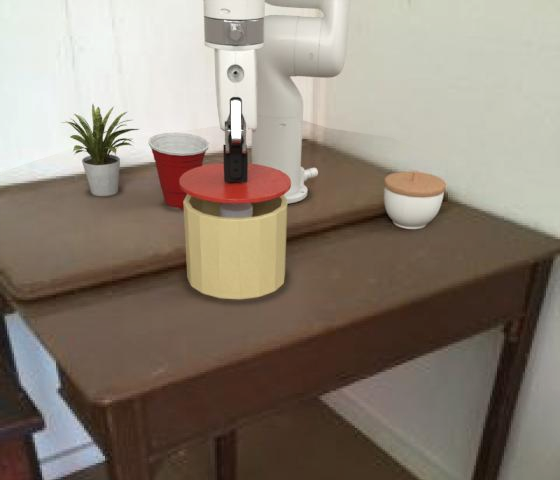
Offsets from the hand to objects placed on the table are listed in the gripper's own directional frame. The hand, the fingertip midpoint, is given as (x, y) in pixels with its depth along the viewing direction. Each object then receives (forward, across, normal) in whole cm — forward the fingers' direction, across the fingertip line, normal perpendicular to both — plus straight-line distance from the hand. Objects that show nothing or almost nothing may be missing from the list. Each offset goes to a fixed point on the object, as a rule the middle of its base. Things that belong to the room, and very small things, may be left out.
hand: (235, 176), depth 98 cm
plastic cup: (+16, +32, +9) cm, 37 cm away
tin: (+16, 0, 0) cm, 16 cm away
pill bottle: (+16, 0, 0) cm, 16 cm away
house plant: (+16, +38, +25) cm, 48 cm away
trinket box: (+16, +22, -32) cm, 42 cm away
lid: (+1, 0, 0) cm, 1 cm away
